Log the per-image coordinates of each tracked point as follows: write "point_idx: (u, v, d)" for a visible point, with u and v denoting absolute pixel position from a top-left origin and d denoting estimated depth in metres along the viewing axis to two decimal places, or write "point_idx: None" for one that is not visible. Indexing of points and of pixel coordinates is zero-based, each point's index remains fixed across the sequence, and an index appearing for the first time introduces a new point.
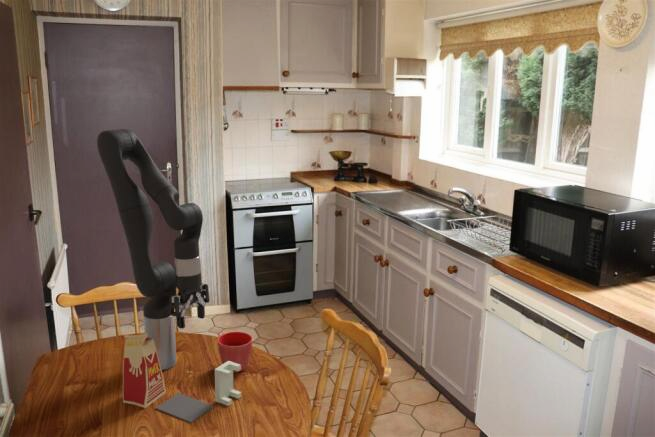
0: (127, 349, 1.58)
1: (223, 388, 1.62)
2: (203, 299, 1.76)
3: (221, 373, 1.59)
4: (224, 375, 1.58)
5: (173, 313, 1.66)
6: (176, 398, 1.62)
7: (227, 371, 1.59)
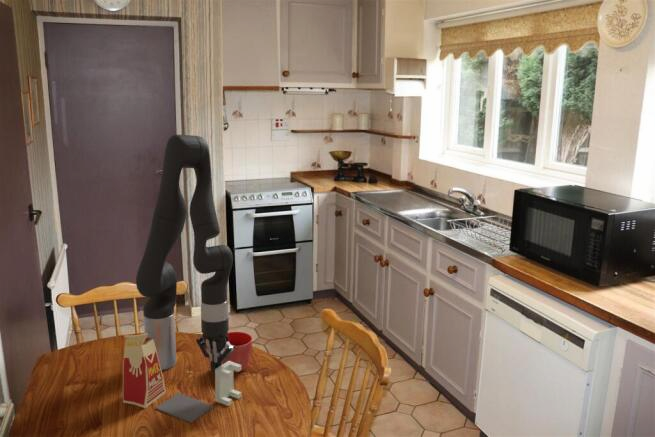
0: (127, 349, 1.58)
1: (223, 389, 1.62)
2: None
3: (221, 373, 1.59)
4: (224, 375, 1.58)
5: (224, 359, 1.61)
6: (176, 398, 1.62)
7: (227, 371, 1.59)
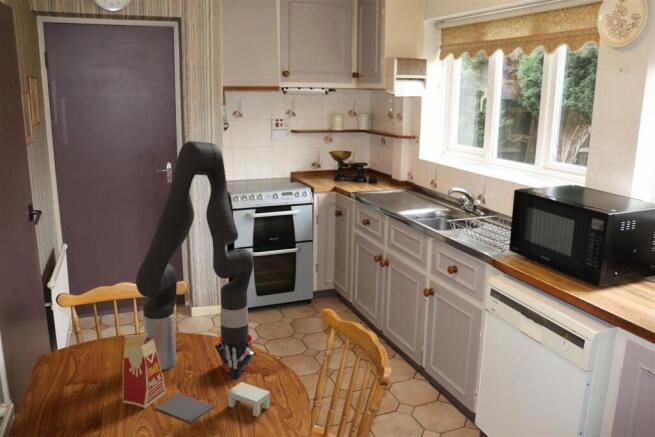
0: (127, 349, 1.58)
1: None
2: None
3: (255, 408, 1.55)
4: (254, 411, 1.55)
5: (244, 365, 1.58)
6: (176, 398, 1.62)
7: (258, 412, 1.56)
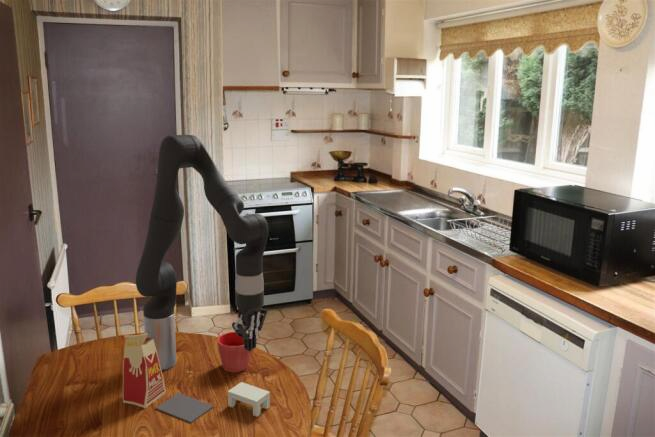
0: (127, 349, 1.58)
1: None
2: None
3: (255, 408, 1.55)
4: (254, 411, 1.55)
5: None
6: (176, 398, 1.62)
7: (258, 412, 1.56)
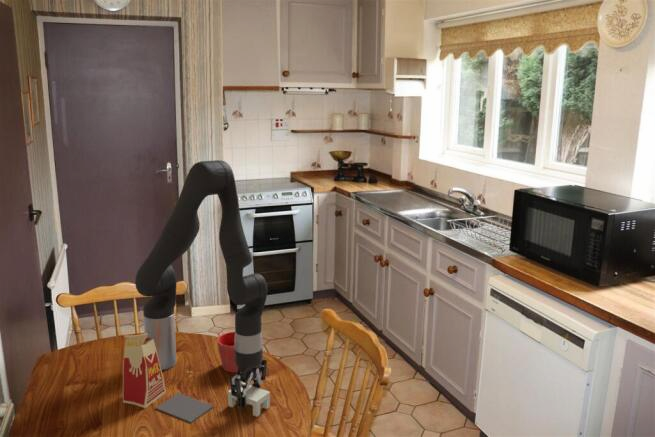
0: (127, 349, 1.58)
1: None
2: None
3: (255, 408, 1.55)
4: (254, 411, 1.55)
5: None
6: (176, 398, 1.62)
7: (258, 413, 1.56)
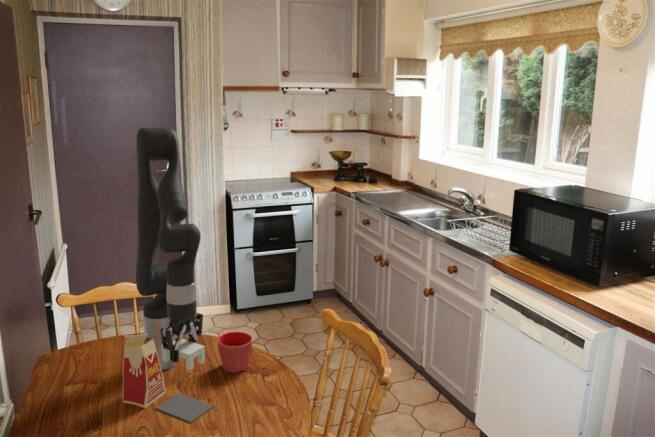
0: (127, 349, 1.58)
1: None
2: None
3: (187, 362, 1.50)
4: (187, 365, 1.51)
5: None
6: (176, 398, 1.62)
7: (192, 366, 1.51)
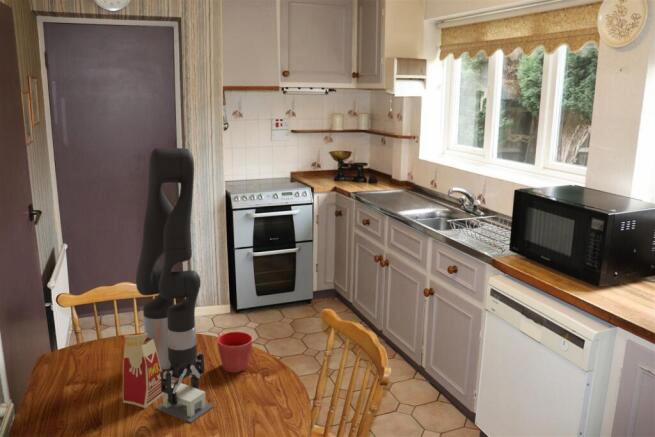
0: (127, 349, 1.58)
1: None
2: None
3: (188, 408, 1.53)
4: (188, 411, 1.54)
5: None
6: None
7: (192, 413, 1.54)
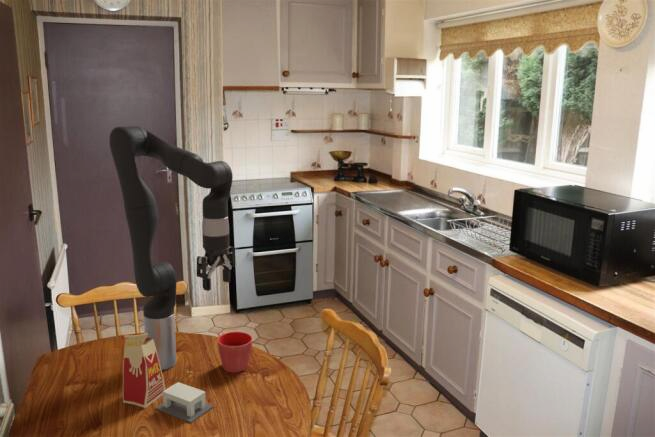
0: (127, 349, 1.58)
1: None
2: None
3: (188, 408, 1.53)
4: (188, 411, 1.54)
5: None
6: None
7: (192, 413, 1.54)
